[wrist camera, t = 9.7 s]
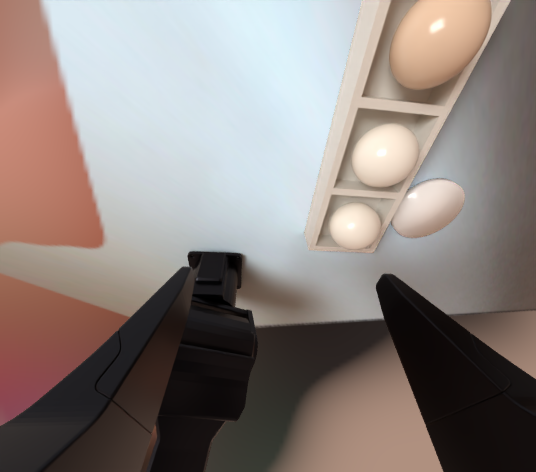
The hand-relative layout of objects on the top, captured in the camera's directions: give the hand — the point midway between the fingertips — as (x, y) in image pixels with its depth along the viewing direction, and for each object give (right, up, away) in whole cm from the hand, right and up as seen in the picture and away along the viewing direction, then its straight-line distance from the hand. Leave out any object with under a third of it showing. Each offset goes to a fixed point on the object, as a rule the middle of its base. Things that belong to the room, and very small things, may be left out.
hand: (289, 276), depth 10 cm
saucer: (+16, +5, +14) cm, 22 cm away
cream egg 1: (+7, +4, +12) cm, 15 cm away
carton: (+8, +10, +9) cm, 16 cm away
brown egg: (+8, +15, +4) cm, 17 cm away
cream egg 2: (+8, +9, +8) cm, 15 cm away
